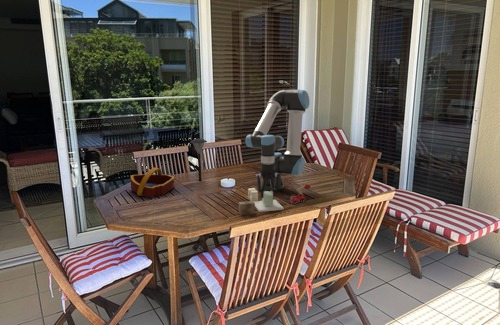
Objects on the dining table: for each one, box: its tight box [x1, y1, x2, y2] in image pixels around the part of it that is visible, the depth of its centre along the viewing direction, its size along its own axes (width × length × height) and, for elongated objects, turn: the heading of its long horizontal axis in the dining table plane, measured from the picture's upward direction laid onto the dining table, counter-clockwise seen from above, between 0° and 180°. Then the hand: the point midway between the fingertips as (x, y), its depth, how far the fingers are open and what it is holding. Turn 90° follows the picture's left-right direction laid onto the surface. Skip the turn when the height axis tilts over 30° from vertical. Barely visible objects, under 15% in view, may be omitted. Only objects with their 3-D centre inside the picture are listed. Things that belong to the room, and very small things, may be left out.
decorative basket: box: [130, 167, 175, 198], centre depth 242 cm, size 34×29×15 cm
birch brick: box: [247, 187, 259, 202], centre depth 222 cm, size 8×4×6 cm, turn 14°
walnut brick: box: [238, 200, 256, 216], centre depth 200 cm, size 8×4×6 cm, turn 104°
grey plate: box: [254, 199, 284, 213], centre depth 210 cm, size 15×14×1 cm
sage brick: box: [264, 190, 274, 206], centre depth 209 cm, size 8×4×6 cm, turn 14°
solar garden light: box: [189, 138, 208, 182], centre depth 261 cm, size 12×12×30 cm
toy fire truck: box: [289, 183, 311, 205], centre depth 217 cm, size 3×14×10 cm, turn 126°
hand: (267, 202), depth 210 cm, fingers closed on sage brick, 4 cm apart
